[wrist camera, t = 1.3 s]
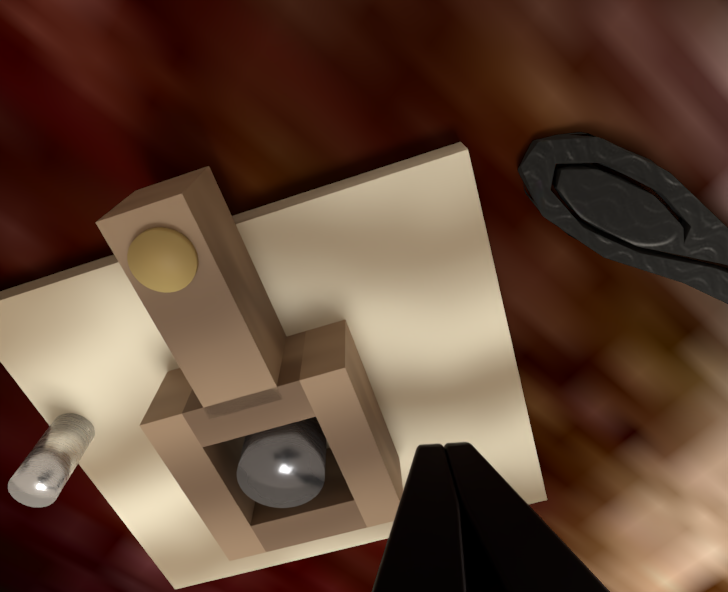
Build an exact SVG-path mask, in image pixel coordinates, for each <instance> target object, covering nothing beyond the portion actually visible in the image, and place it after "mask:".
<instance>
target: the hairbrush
mask: <svg viewBox="0 0 728 592" xmlns="http://www.w3.org/2000/svg"><path fill="white" fill-rule="evenodd" d="M570 134H586V135H588V136H579V135H570ZM590 163H598V164H601V165H603V166H605V167H608V168H610V169H613V170H615V171H617V172H620V173H622V174H625V175H626V176H628V177H630V178H632V179H634V180H636V181H638V182H640V183H642V184H644V185H646V186H648V187H650V188H651V189H653V190H654V191H655V192H656V193H657V194H658V195H659V196H660V197H661V198H662V199H663V200H664V201H665V202H666V203H667V204H668V206H669V207H670V208H671V209H672V210H673V211H674V212H675V214H676V215H677V216H678V217H679V220H678V221H677V219H676V218H675V217H674V216H673V215H672V213H671V212H670V211H669V210H668V209H667V208H666V206H665V205H664V204H663V203H662V202H660V201H659V200H658V199H657V198H656V197H655V196H654V195H652V194H651V193H650V192H648V191H646V190H644V189H642V188H640V187H638V186H636V185H634V184H632V183H631V182H629V181H627V180H625V179H624V178H622V177H619V176H616V175H613V174H611V173H609V172H606V171H604V170H602V169H600V168H598V167H596V166H594V165H592V164H590ZM555 164H556V167H555ZM566 165H567V166H566ZM560 166H565V167H561V168H557V167H560ZM554 169H555V170H554ZM518 172H519V174H520V176H521V178H522V180H523V182H524V183H523V184H525V185H526V187H527V189H528V191H529V193H530V194H531V196H532V198H533V200H534V201H533V200H532V199H531V198H530V197H529V195H528V194H527V192H526V191H525V193H526V194H527V196H528V197H529V198H530V199H531V201H532V202H533V203H534V205H535V206H536V207H537V208H538V210H539V211H540V213H541V214H542V216H543V217H545V218H546V219H548V220H549V221H551V222H552V223H554V224H555V225H557V226H558V227H560V228H561V229H562V230H563V231H564V232H566V233H567V234H568V235H569V236H571V237H573V238H575V239H577V240H579V241H580V242H582V243H583V244H585V245H586V246H588V247H589V248H591V249H592V250H594V251H595V252H597V253H598V254H600V255H601V256H602V257H604V258H607V259H610V260H614V261H617V262H620V263H623V264H626V265H629V266H632V267H635V268H638V269H642V270H645V271H648V272H651V273H654V274H657V275H660V276H663V277H666V278H670V279H673V280H676V281H679V282H682V283H685V284H687V285H689V286H691V287H693V288H695V289H697V290H699V291H702V292H704V293H706V294H708V295H710V296H712V297H714V298H716V299H719V300H721V301H723V302H725V303H727V304H728V268H724V267H721V266H717V265H714V264H710V263H706V262H701V261H697V260H693V259H689V258H685V257H681V256H677V255H682V256H687V257H692V258H696V259H701V260H706V261H711V262H716V263H721V264H725V265H728V228H727V227H726V226H725V225H724V224H723V223H722V222H721V221H720V220H719V219H718V218H717V217H716V216H715V215H714V214H713V213H711V212H710V211H709V210H708V209H707V208H706V207H705V206H704V205H703V204H702V203H701V202H700V201H699V200H698V199H697V198H696V197H695V196H694V195H693V194H692V193H691V192H690V191H689V190H687V189H686V188H685V187H684V186H683V185H682V184H681V183H680V182H679V181H678V180H677V179H676V178H675V177H674V176H673V175H672V174H671V173H669V172H668V171H666V170H664V169H662V168H661V167H659V166H657V165H656V164H655V163H654V162H652V161H651V160H650V159H647V158H645V157H643V156H640V155H638V154H635V153H633V152H631V151H628V150H626V149H624V148H621V147H619V146H617V145H615V144H613V143H611V142H609V141H607V140H605V139H602V138H599V137H596V136H593V135H591V134H588V133H583V132H576V133H568V134H559V135H555V136H550V137H546V138H542V139H537V140H533V141H532V143H531V144H530V146H529V148H528V150H527V152H526V154H525V156H524V158H523V160H522V162H521V164H520V166H519V168H518ZM555 172H556V174H555ZM554 174H555V183H553V184H554V188H555V189H556V190H557V192H558V193H559V195H560V197H561V198H562V199H563V201H564V202H565V203H566V204H567V205H568V207H569V208H570V209H572V210H574V211H575V212H576V213H577V214H578V215H579V216H580V218H582V219H583V220H585V221H587V222H588V223H590V224H588V223H586V222H583V221H581V220H579V219H576V218H575V217H574V216H573V215H572V214H571V213H570V212H569V211H568V209H567V208H566V207H565V206H564V205H563V204H562V203H561V201H560V200H559V199H558V198H557V197H556V196H555V195H554V193H553V192H552V191H551V190H550V189H551V184H552V182H553V181H552V180H553V177H554ZM524 190H525V188H524ZM661 251H662V252H661ZM665 252H667V253H665ZM669 253H672V254H669ZM673 254H677V255H673Z"/></svg>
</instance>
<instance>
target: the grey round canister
mask: <svg viewBox="0 0 728 592" xmlns="http://www.w3.org/2000/svg"><path fill="white" fill-rule="evenodd" d="M326 444H327V439H326V437H325V435H324V433H323V431H322V429H321V426H320V424H319V422H318V420H317V418H316V417H312V418H309V419H305V420H301V421H298V422H294V423H290V424H287V425H283V426H279V427H276V428H272V429H268V430H265V431H261V432H257V433H254V434H250V435H246V436H245V440H244V444H243V448H242V452H241V456H240V460H239V464H238V468H237V481H238V484H239V486H240V488H241V489H242V491H243V492H244V493H245V494H246V495H247V496H248V497H249V498H251V499H252V500H254V501H256V502H258V503H260V504H263V505H266V506H269V507H275V508H290V507H296V506H299V505H302V504H305V503H307V502H309V501H310V500H312V499H313V498H314V497H316V496H317V495H318V493H319V492H320V491H321V489H322V487H323V485H324V480H325V464H326Z"/></svg>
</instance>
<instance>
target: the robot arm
mask: <svg viewBox="0 0 728 592" xmlns="http://www.w3.org/2000/svg"><path fill="white" fill-rule="evenodd" d="M372 592H610V591H609V590H608V589H607V588H606V587H605V586H604V585H603V584H602V583H601V582H600V581H599V580H598V578H597V577H596V576H595V575H594V574H593V573H592V572H591V571H590V570H589V569H588V568H587V567H586V566H585V565H584V564H583V562H582V561H581V560H580V559H579V558H578V557H577V556H576V555H575V554H574V553H573V552H572V551H571V550H570V549H569V548H568V546H567V545H566V544H565V543H564V542H563V541H562V540H561V539H560V538H559V537H558V536H557V535H556V534H555V533H554V532H553V531H552V529H551V528H550V527H549V526H548V525H547V524H546V523H545V522H544V521H543V520H542V519H541V518H540V517H539V516H538V515H537V513H536V512H535V511H534V510H533V509H532V508H531V507H530V506H529V505H528V504H527V503H526V502H525V501H524V500H523V499H522V497H521V496H520V495H519V494H518V493H517V492H516V491H515V490H514V489H513V488H512V487H511V486H510V485H509V484H508V483H507V481H506V480H505V479H504V478H503V477H502V476H501V475H500V474H499V473H498V472H497V471H496V470H495V469H494V468H493V467H492V466H491V464H490V463H489V462H488V461H487V460H486V459H485V458H484V457H483V456H482V455H481V454H480V453H479V452H478V451H477V450H476V448H475V447H474V446H473V445H472V444H470V443H468V442H454V443H446V444H445V445H444V447H443V445H442V444H439V443H436V444H421V445H419V446H418V447H417V448H416V451H415V454H414V458H413V461H412V464H411V467H410V470H409V474H408V477H407V480H406V483H405V487H404V490H403V493H402V496H401V499H400V503H399V506H398V509H397V512H396V515H395V519H394V522H393V525H392V528H391V531H390V535H389V538H388V541H387V544H386V547H385V551H384V554H383V557H382V560H381V564H380V567H379V570H378V573H377V576H376V580H375V583H374V586H373V589H372Z"/></svg>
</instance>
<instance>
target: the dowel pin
mask: <svg viewBox="0 0 728 592" xmlns="http://www.w3.org/2000/svg"><path fill="white" fill-rule="evenodd" d="M94 436H95V429H94V426H93V425H92V423H91V422H90V421H89V420H88V419H86V418H85V417H83V416H81V415H78V414H74V413H65V414H62V415H59V416H58V417H56V418H55V420H54V421H53V422H52V424H51V425H50V426H49V428H48V429H47V431H46V432H45V433H44V435H43V436H42V437H41V439H40V440H39V441H38V443H37V444H36V445H35V447H34V448H33V449H32V451H31V452H30V453H29V455H28V456H27V457H26V459H25V460H24V462H23V463H22V464H21V466H20V467H19V468H18V470H17V471H16V472H15V474H14V475H13V476H12V478H11V479H10V481H9V482H8V490H9V493H10V494H11V496H12V497H13V498H14V499H15V500H17V501H18V502H20V503H22V504H24V505H27V506H31V507H45V506H48V505H51V504H52V503H53V502H54V501H55V500H56V498H57V497H58V495H59V493H60V492H61V490H62V489H63V487H64V485H65V484H66V482H67V480H68V479H69V477H70V475H71V474H72V472H73V471H74V469H75V467H76V466H77V464H78V462H79V461H80V459H81V458H82V456H83V454H84V453H85V451H86V449H87V448H88V446H89V445H90V443H91V441H92V440H93V438H94Z"/></svg>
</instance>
